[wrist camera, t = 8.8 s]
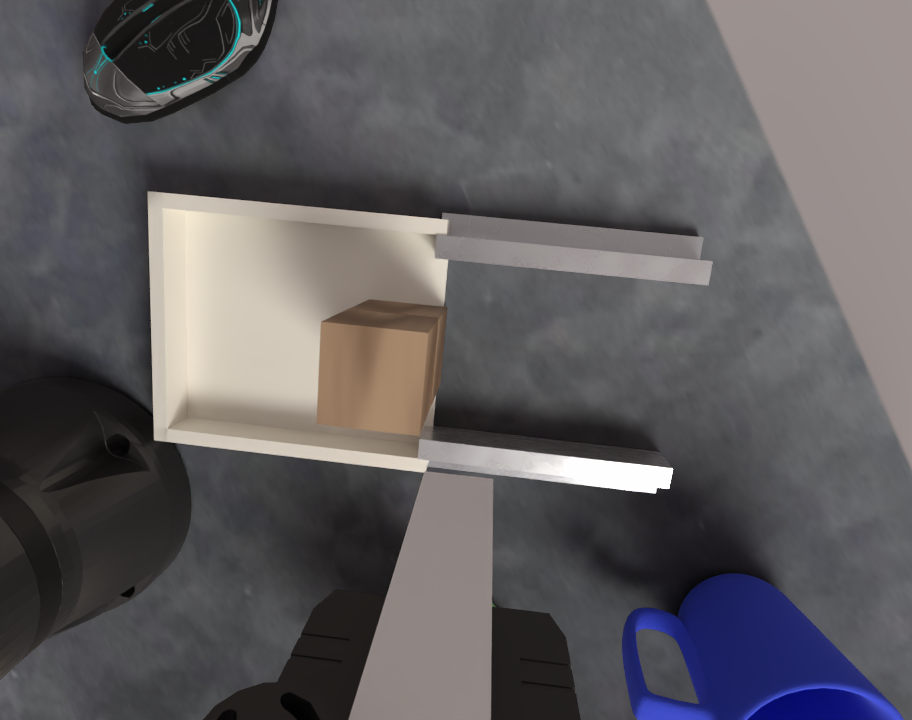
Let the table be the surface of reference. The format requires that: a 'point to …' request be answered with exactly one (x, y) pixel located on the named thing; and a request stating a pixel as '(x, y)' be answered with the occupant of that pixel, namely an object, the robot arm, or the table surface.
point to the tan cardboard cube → (415, 311)
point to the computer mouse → (171, 53)
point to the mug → (750, 660)
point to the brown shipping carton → (376, 371)
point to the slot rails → (573, 254)
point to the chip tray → (273, 319)
